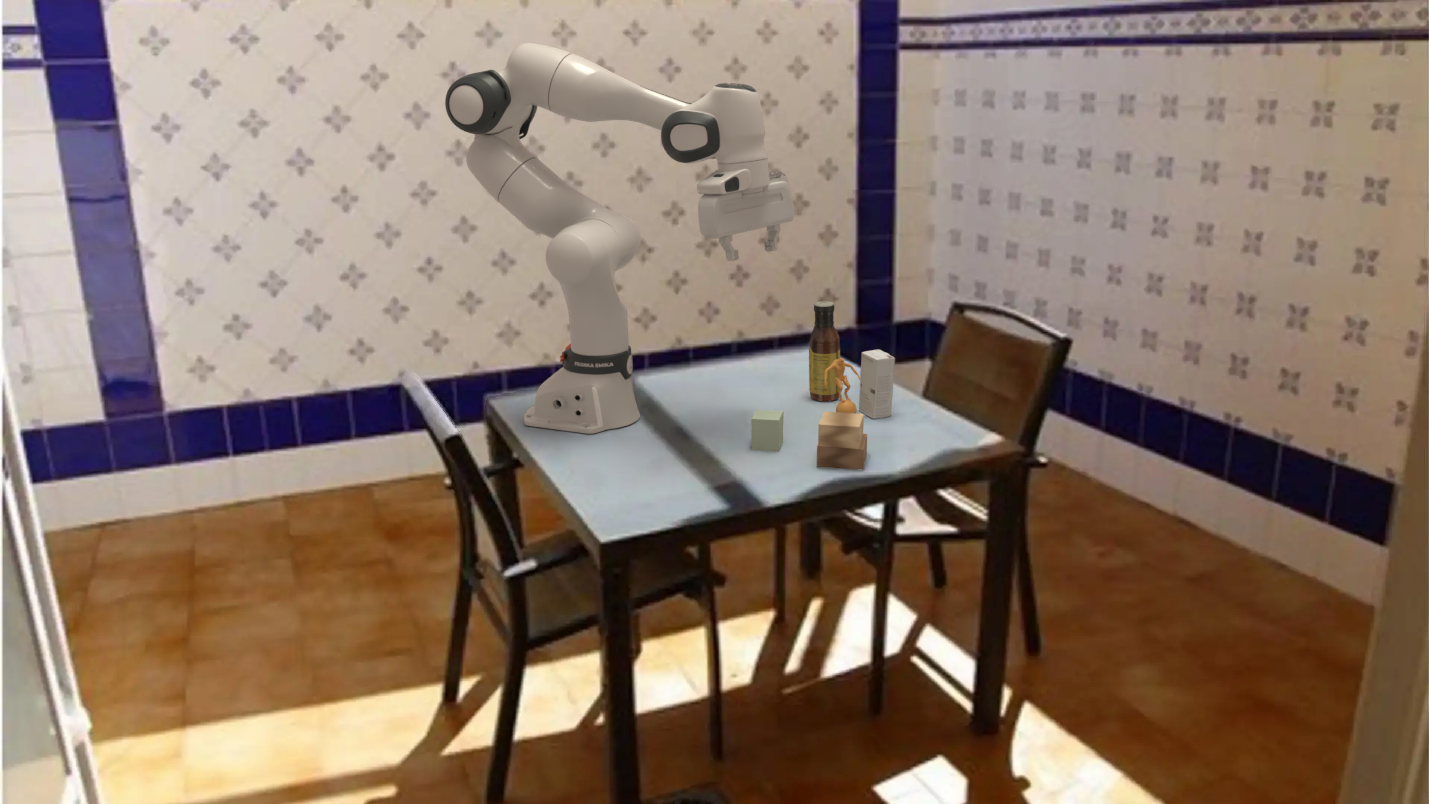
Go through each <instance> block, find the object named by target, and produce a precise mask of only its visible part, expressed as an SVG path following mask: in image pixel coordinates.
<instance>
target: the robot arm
mask: <svg viewBox="0 0 1429 804" xmlns="http://www.w3.org/2000/svg"><path fill="white" fill-rule="evenodd" d="M444 101H445V102H444V104H445V105H444V106H445V110H446V114H447V116H448V118H449V120H450V121H451V123H452V124H453V125H454V126H456V128H457V129H459V130H461V131H463V132H465V133H468V134H473V135H474V138H473V141H472V143H470V145H469V147H468V150H467V152H466V157H465V161H466V165H467V168H468V170H469V171H470V172H471V174H472V176H474V178H475V179H476V180H477V181H478V182H479V184H480V186H482V187H483V188H484V189H485V190H486V192H488V194H489V195H490V196H491V197H492V198H493V199H495V200H496V202H498V203H499V204H500V205H501V206H502V207H503V208H504V209H505V210H507V211H508V212H509V213H510V214H511V215H512V216H514V217H515V218H516V219H517V220H518V221H519V222H520V223H521V224H523V226H525V227H526V229H529V231H532V232H534V233H538V234H541V235H544V236H547V238H550V239H551V240H550V242H549V243H548V245H547V247H546V251H545V262H546V266H547V269H548V271H549V273H550V275H552V277H553V278H554V279H555V280H556V281H558V283H559V285H560V287H561V290H562V293H563V296H564V299H565V304H566V306H567V312H568V321H569V337H570V343H569V344H568V345H567V346H566V347H565V349H564V351H562V352H561V355H559V363H562V367H561V368H559V369H558V370H557V371H556V372H554V373H553V374H552V375H550V377H548V378H547V379H546V380H544V381H543V383H541V384H540V386H539V387H538V389H537V391H536V394H535V398H534V404H533V405H532V406H531V407H530V408H528V409H527V410H526V412H525V413H524V415H523V424H524V425H525V426H528V427H535V428H542V429H549V430H556V431H558V430H559V431H566V432H572V433H579V434H580V433H581V434H589V435H591V434H593V435H594V434H596V433H600V432H603V431H606V430H612V429H613V430H614V429H618V428H622V427H625V426H629V425H632V424H633V423H636V422H637V421H638V420H639V419H640V418H641V414H640V411H639V408H638V404H637V402H636V398H635V393H634V392H635V391H634V387H633V380H632V375H633V370H634V369H633V365H634V364H633V355H632V348H631V346H630V344H629V343H630V341H629V322H628V321H629V320H628V319H629V318H628V317H629V315H628V308H627V306H626V304H625V303H624V302H623V301H622V300H621V297H620V294H619V292H618V288H617V286H616V285H617V284H616V282H615V272H617V271H619V270H621V269H624V268H625V267H626V266H627V265H629V263H630V262H631V261H632V260H633V259H634V258H635V256H636V255H637V254H638V252H639V251H640V248H641V243H642V237H641V232H640V229H639V227H638V226H637V223H635V222H634V220H633V219H631V218H630V217H629V216H627V215H625V214H621V213H618V212H617V211H614V210H612V209H609V208H608V207H605V206H604V205H602V204H601V203H599V202H597V200H594V199H593V198H590V196H587V195H585V194H583V193H582V192H580V191H578V190H577V189H575V188H574V187H572V186H571V185H570V184H568V183H567V182H566V181H565V180H563V179H562V177H559V176H558V175H557V174H556V173H555V172H554V171H553V170H552V169H551V168H550V167H548V166H547V164H545V163H544V162H543V161H541V160H540V159H539V158H538V157H537V156H536V155H534V154H533V153H532V152H531V151H530V150H528V149H527V147H525V146H524V144H523V143H522V141H521V139H523V138H525V137H526V136H527V134H528V132H529V130H530V129H529V128H530V127H531V126H530V125H531V123H532V121H533V120H534V118H535V116H536V113H537V110H538V107H539V108H543V110H547V111H549V112H551V113H554V114H555V115H558V116H561V117H565V118H567V119H572V120H577V121H581V122H586V123H588V122H589V123H592V122H593V123H594V122H595V123H596V122H608V121H629V122H634V123H635V122H636V123H639V124H642V125H645V126H647V127H651V128H653V129H656V130H659V131H660V139H661V140H660V141H661V145H662V147H663V149H664V151H665V153H666V154H667V155H668V156H669V157H670V158H671V159H672V160H673V161H676V162H677V163H683V164H696V163H701V162H703V161H707V160H713V159H716V162H717V169H716V170H715V171H713V172H712V173H711V174H709V175H707V176H706V177H705V178H703V179H701V180H700V181H698V182H697V184H696V190H697V193H698V194H699V195H701V196H700V198H699V200H698V203H697V216H698V225H699V231H700V233H701V235H702V236H703V238H704V239H715V240H716V239H718V243H719V244H720V246H721V247H722V249H723V250H724V251H725V259H726V261H727V262H728V261H729V262H733V261H737V260H739V257H740V256H739V249H734V246H733V244H732V243H731V242H733V239H734V238H733V236H734V235H738V234H741V233H747V232H751V231H755V230H761V229H763V228H764V229H765V228H766V230H767V232H768V235H767V240H764V241H763V244H764V250H765V252H773V251H777V250H778V243H777V242H778V238H779V235H780V232H781V224H785V223H789V222H792V221H793V220H794V218H795V213H796V211H795V205H794V200H793V196H792V195H793V194H792V191H791V188H790V186H789V185H790V184H789V178H788V176H787V175H786V174H785V173H783V172H782V171H781V170H776V171H774V172H770V169H769V161H768V154H767V151H766V149H765V141H764V140H765V136H766V135H765V134H766V130H765V129H766V128H765V123H764V122H765V121H764V113H763V107H762V103H761V99H760V96H759V92H758V91H757V90H756V89H755V88H754V87H753V86H751V85H748V84H744V83H733V82H732V83H727V82H723V83H718V84H715V85H714V86H713V87H712V88H711V89H710V90H709V92H707V93H706V94H705V95H704V96H702V97H701V98H699V99H698V100H696V101H694V102H693V103H691V102H687V101H686V102H685V101H683V100H680V99H678V98H675V97H671V96H669V95H666V94H664V93H661V92H657V91H655V90H653V89H649V88H647V87H644V86H642V85H639V84H637V83H635V82H633V81H630V80H628V79H626V78H625V77H622V76H621V75H619V74H616V73H614V72H613V71H610V70H609V69H607V68H605V67H603V66H601V65H599V64H597V62H596V63H595V62H593V61H592V60H589V59H587V58H585V57H584V56H583V57H582V56H581V55H578V54H576V53H572V52H571V51H568V50H564V49H561V48H559V47H555V46H554V47H553V46H551V45H545V44H542V43H535V42H524V43H521V44H519V45H517V46H516V47H515V48H514V49H513V50H512V52H511V53H510V55H509V57H508V59H507V61H506V65H505V67H504V68H503V69H502V70H500V71H496V70H494V69H488V70H483V71H479V72H473V73H468V74H466V75H463V76H462V77H459V78H457V79H456V80H455V81H454V82H453V83H451V85H450V86H449V88H448V89H447V92H446V95H445V100H444Z"/></svg>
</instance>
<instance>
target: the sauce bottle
mask: <svg viewBox="0 0 1429 804" xmlns="http://www.w3.org/2000/svg"><path fill="white" fill-rule="evenodd" d="M813 311H814V327H813V329H812V332H811V334H810V338H809V341H808V367H809V369H808V370H809V371H808V375H809V376H808V378H809V379H808V381H809V387H808V388H809V389H808V390H809V396H810V398H811V399H813V400H815V401H818V402H819V401H820V402H823V403H825V402H826V403H827V402H830V401H831V402H832V401H836V400H838V399H840V398H839V393H838V390H840V389H839V388H838V386H837V384H836V382H835V378H836V377H837V375H836V373H835V371H834V369H831V370H830V371H828V372H827V380H826V382H827V383H828V384H827V386H824V378H825V370H826V369H827V368H828V367H830V365H831V364H832V363H833V361H834V360H836V359H840V358H841V347H840V335H839V333H838V330H837V329H836V327H835V325H834V324H835V321H834V317H835V316H834V312H835V303H834V302H833V301H828V300H827V301H826V300H825V301H816V302H815V303H814V304H813Z"/></svg>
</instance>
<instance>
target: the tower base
mask: <svg viewBox="0 0 1429 804" xmlns="http://www.w3.org/2000/svg"><path fill="white" fill-rule="evenodd" d="M867 454H868V433H863V437H862V441H861V444H860V447H859V449H850V448H835V447H821V446H818V444H817V445H816V468H823V469H826V468H827V469H843V470H857V469H862V470H861V471H864V467H865V462H866V458H867V456H868V455H867Z"/></svg>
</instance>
